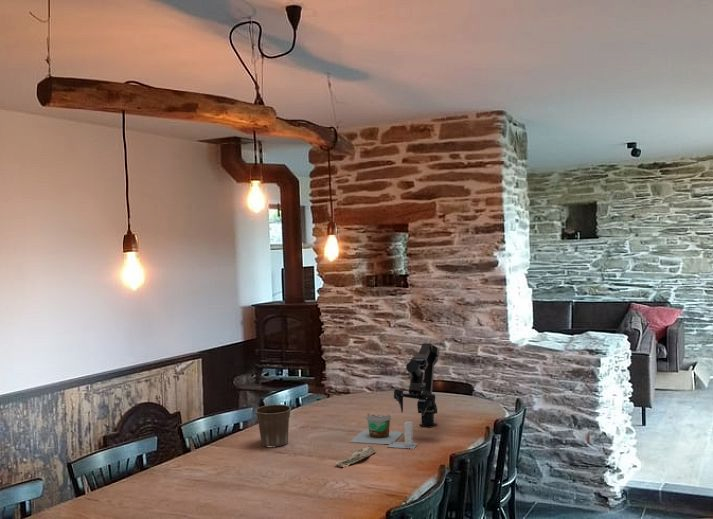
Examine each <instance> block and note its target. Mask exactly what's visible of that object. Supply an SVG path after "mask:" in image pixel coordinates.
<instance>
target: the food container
mask: <svg viewBox="0 0 713 519" xmlns="http://www.w3.org/2000/svg"><path fill="white" fill-rule="evenodd" d="M365 419H366V421H367V426H368V430H369V434H370V437H373V438H385V437H388V436H389V431H390V424H391V420H392V416H391V414H389V415H381V414H369V412H367V414H366V416H365Z"/></svg>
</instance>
